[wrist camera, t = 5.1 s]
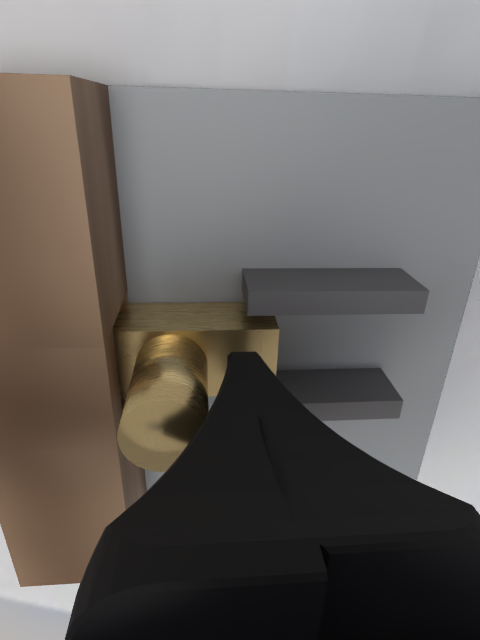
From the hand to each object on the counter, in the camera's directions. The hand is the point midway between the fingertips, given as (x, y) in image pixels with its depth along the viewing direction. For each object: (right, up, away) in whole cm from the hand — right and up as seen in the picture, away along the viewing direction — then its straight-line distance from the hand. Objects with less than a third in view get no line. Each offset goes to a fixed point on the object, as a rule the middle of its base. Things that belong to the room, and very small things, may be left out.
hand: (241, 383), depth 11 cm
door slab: (+2, +2, +4) cm, 5 cm away
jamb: (-5, +2, +3) cm, 7 cm away
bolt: (-3, +1, +2) cm, 4 cm away
